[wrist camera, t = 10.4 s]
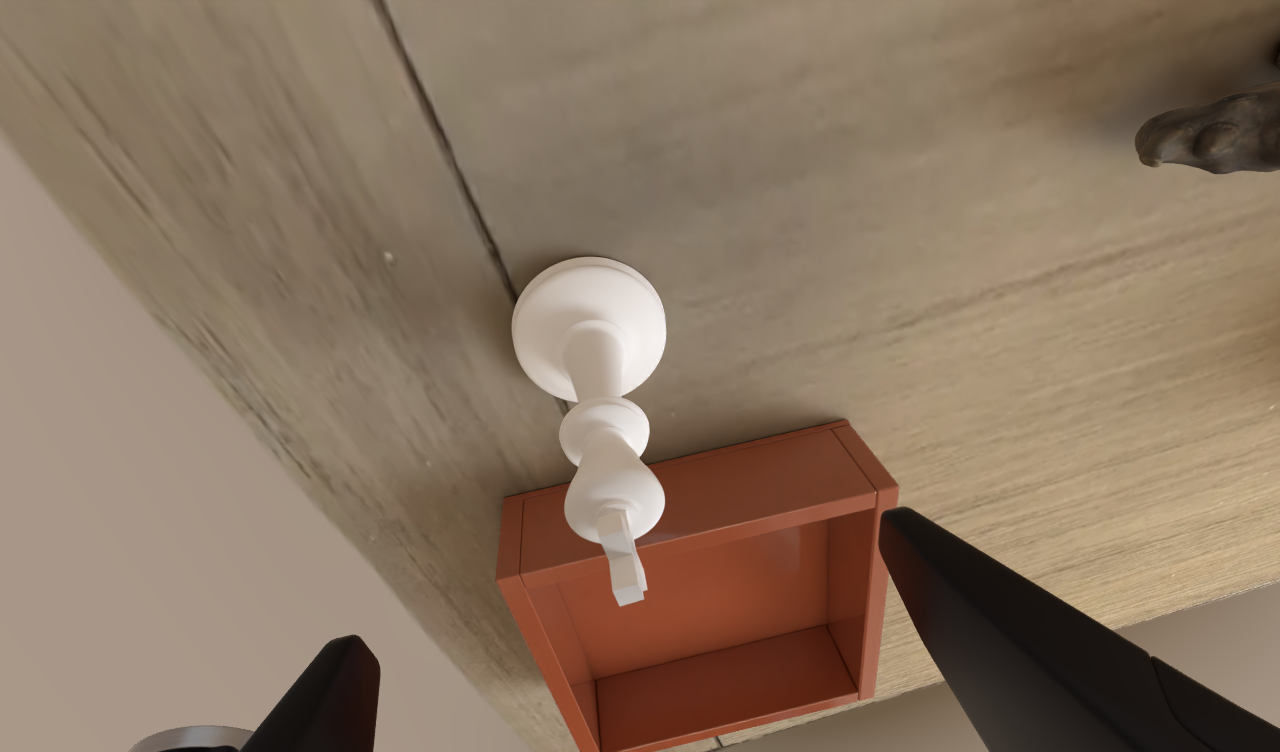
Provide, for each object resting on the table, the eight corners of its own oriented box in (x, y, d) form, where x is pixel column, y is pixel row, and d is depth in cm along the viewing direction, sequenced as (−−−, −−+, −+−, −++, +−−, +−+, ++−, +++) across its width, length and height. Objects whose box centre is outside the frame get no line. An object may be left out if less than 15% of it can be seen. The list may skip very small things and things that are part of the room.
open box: (583, 685, 28) (587, 768, 25) (503, 497, 21) (494, 580, 17) (837, 624, 28) (874, 698, 25) (847, 418, 21) (900, 485, 18)
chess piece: (543, 411, 19) (539, 707, 10) (486, 283, 16) (418, 542, 8) (679, 369, 19) (786, 635, 10) (644, 235, 16) (749, 442, 8)
